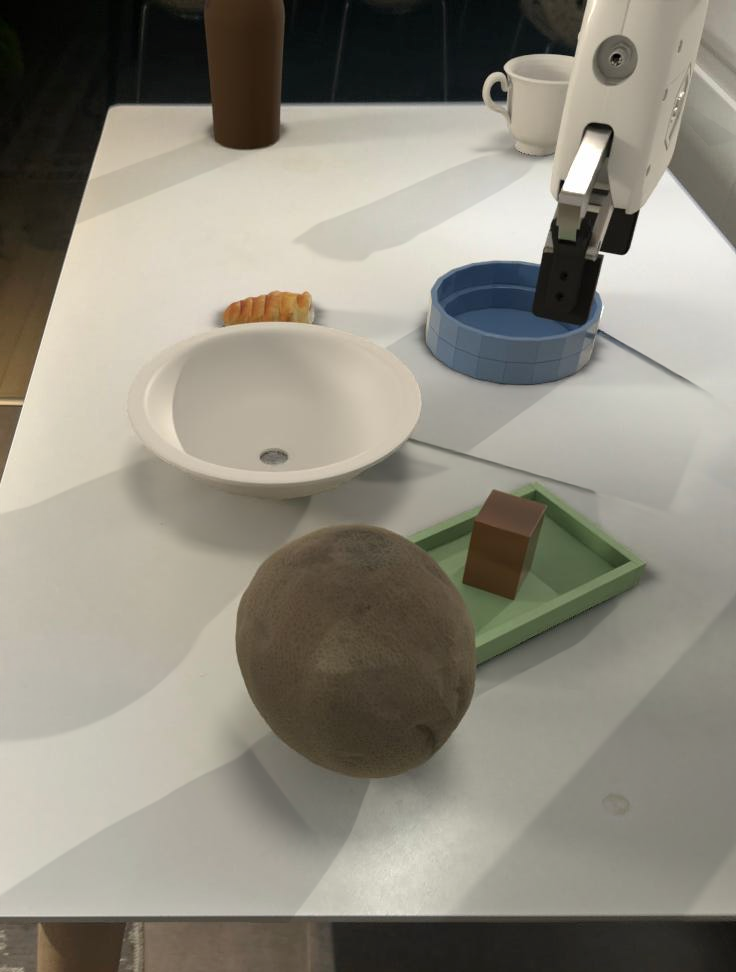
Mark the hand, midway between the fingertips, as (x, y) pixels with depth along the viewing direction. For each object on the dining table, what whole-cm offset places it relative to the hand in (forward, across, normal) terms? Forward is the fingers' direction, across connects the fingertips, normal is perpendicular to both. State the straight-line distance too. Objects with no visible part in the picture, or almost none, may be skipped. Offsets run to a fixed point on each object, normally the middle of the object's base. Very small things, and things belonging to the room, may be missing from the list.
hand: (581, 282), depth 58 cm
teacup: (+23, +82, +25) cm, 89 cm away
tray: (+22, -4, +1) cm, 22 cm away
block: (+21, -4, +1) cm, 22 cm away
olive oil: (+22, +69, +62) cm, 95 cm away
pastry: (+22, +22, +33) cm, 45 cm away
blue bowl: (+22, +30, +11) cm, 39 cm away
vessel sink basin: (+22, +2, +23) cm, 31 cm away
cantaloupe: (+22, -22, +4) cm, 32 cm away
